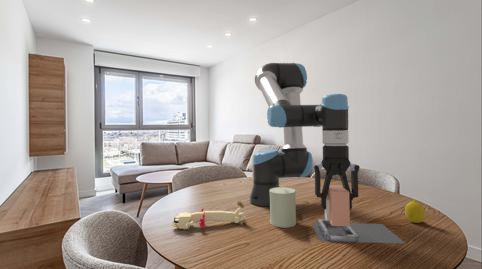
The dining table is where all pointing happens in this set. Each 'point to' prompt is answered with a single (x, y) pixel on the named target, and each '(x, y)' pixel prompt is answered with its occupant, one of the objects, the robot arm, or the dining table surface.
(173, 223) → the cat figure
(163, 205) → the dining table surface
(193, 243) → the dining table surface
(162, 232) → the dining table surface
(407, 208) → the lemon
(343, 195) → the terracotta block
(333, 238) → the pocket plate
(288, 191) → the can
